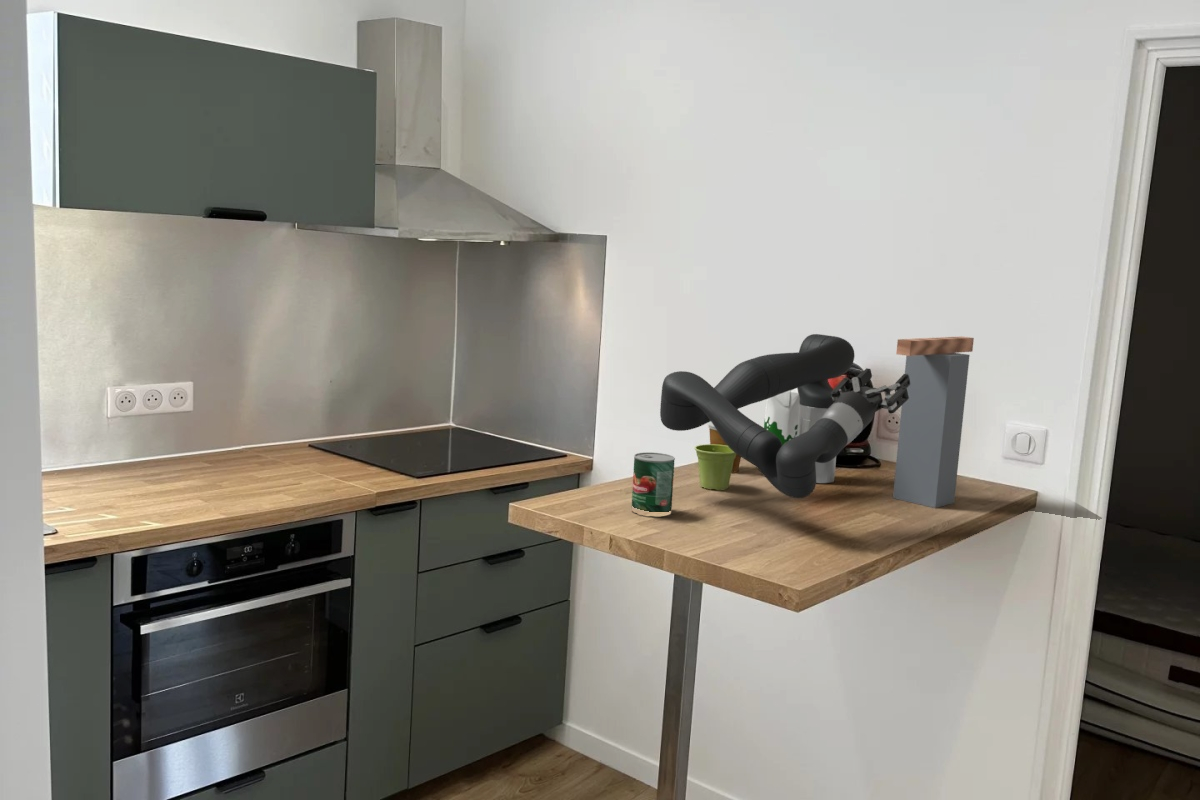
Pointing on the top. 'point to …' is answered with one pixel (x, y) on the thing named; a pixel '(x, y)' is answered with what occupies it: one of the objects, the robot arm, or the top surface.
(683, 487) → the top surface
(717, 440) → the disposable coffee cup
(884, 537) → the top surface
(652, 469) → the canned tomato
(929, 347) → the batten
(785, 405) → the milk carton
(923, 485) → the pedestal
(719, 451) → the plant pot
